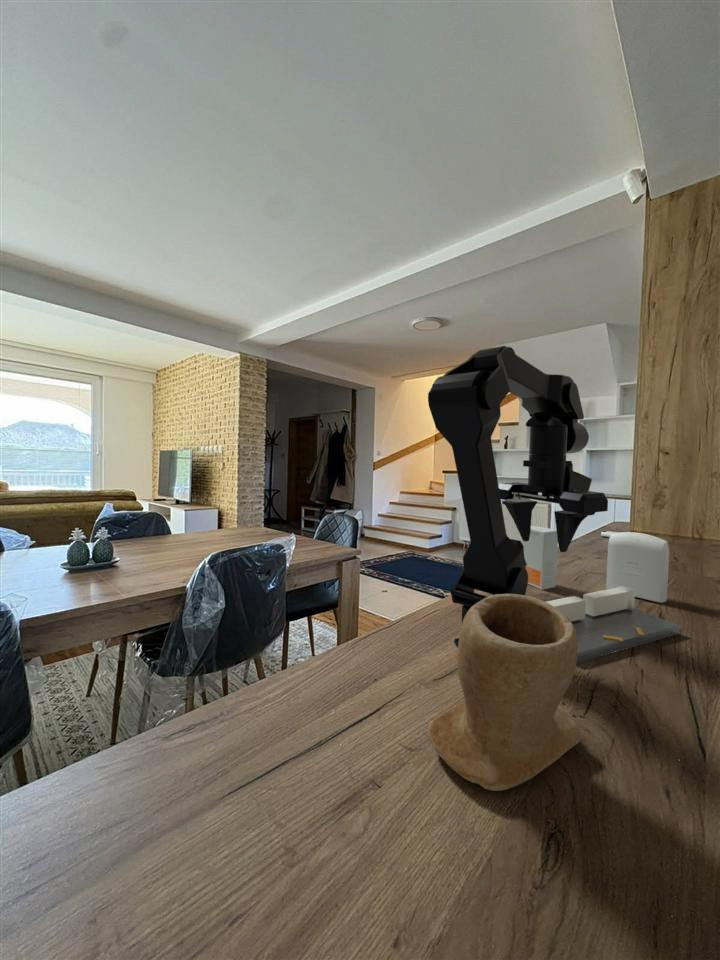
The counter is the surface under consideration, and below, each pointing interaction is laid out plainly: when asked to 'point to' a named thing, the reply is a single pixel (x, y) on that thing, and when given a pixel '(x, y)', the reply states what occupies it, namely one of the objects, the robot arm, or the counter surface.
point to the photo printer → (638, 564)
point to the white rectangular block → (570, 607)
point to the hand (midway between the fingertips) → (543, 546)
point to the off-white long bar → (609, 600)
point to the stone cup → (509, 692)
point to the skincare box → (541, 557)
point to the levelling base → (618, 632)
